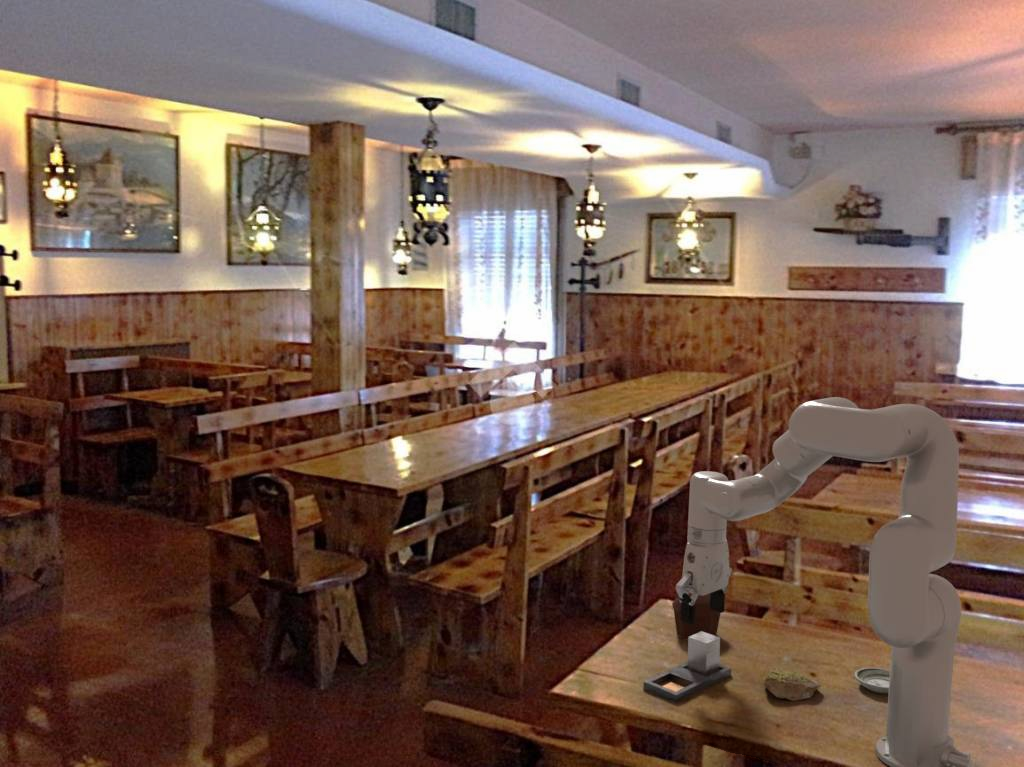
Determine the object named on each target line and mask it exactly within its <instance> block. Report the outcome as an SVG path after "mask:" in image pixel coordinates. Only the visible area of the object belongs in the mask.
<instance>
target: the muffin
mask: <svg viewBox="0 0 1024 767" xmlns="http://www.w3.org/2000/svg"><path fill="white" fill-rule="evenodd" d="M693 589H694V588H693ZM692 594H693V593H690V592H689V593H688V596H689V597H690V598H691V596H692ZM694 605H696V620H695V624H693V625H691V624H689V623H686V622H683V621H681V602H680V599H679V598H678V596H677V597H676V598H675V599H674V600H673V601H672V603H671V606H672V609H673V615H674V620H675V621H674V622H675V628H676V630H675V631H676V635H677V636H679V637H680V636H681V638H682V639H683V640H686V639H688V637H689V636H692V635H694V634H696V633H699V632H701V631H702V632H705V633H708V634H711V635H714V636H717V633H718V630H719V629H718V627H719V623H720V618H721V614H722V613H721V612H718V611H715V610H712V609H710V593H709V594H707V595H698V597H697V599H696V601H695V603H694Z"/></svg>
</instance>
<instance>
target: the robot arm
mask: <svg viewBox="0 0 1024 767" xmlns="http://www.w3.org/2000/svg"><path fill="white" fill-rule="evenodd" d="M788 421H789V422H788V430H786V431H785V432H784V433H783V434H782V435H780V436H779V437H778V438H777V439H776V440H774V442H773V445H772V453H773V457H774V459H773V460H771V462H769V464H767V465H766V466H765V467H763V468H762V469H761V470H760V471H758V472H757V473H755V474H754V475H750V476H746V477H741V478H738V479H734V480H729V478H728V476H727V475H725V474H723V473H720V472H718V471H710V470H706V471H705V470H704V471H703V470H702V471H697V472H695V473H693V474H692V475H691V477H690V479H689V480H690V481H689V497H688V520H687V538H686V539H687V540H686V541H687V542H686V546H685V551H684V557H683V566H682V576H681V579H680V580H679V581H678V582H677V583H676V585H675V589H676V594H677V595H676V596H677V597H678V598H679V599H680V602H681V621H683V622H686V623H689V624H691V625H693V624H695V620H696V605H694V603H695V601H696V599H697V597H698V595H707V594H709V593H710V609H712V610H715V611H718V612H721V613H720V614H723V613H724V612H725V602H726V593H727V592H728V585H729V583H730V578H731V575H732V571H733V568H732V567H730V551H729V544H728V540H727V524H728V523H727V522H728V521H730V522H738V521H742V520H746V519H750V518H752V517H755V516H758V515H762V514H765V513H768V512H770V511H772V510H774V509H775V508H776V507H778V506H780V505H781V504H782V503H783V502H785V501H786V500H787V499H789V498H790V497H791V496H792V495H793V494H795V493H796V492H797V491H798V490H799V489H801V487H802V486H803V484H805V482H806V481H807V478H808V476H810V475H811V474H812V473H813V472H815V471H817V469H818V468H820V467H821V466H822V465H824V464H825V463H826V462H827V461H828V460H830V459H831V458H833V457H838V458H845V459H850V460H854V461H855V460H856V461H861V462H862V461H863V462H871V463H881V462H888V461H890V460H894V459H899V458H901V457H905V458H906V466H905V470H904V472H903V475H902V479H901V486H900V509H899V510H900V511H899V515H898V518H896V519H894V520H892V521H888V522H887V523H886V524H884V525H882V526H881V528H879V529H878V531H876V533H875V535H874V537H873V539H872V542H871V545H870V549H869V561H868V592H867V593H868V595H867V596H868V597H867V611H868V619H869V622H870V626H871V628H872V630H873V632H874V633H875V635H876V636H877V637H878V639H879V640H881V641H882V642H883V643H885V644H886V645H888V646H891V653H890V664H889V670H890V677H889V693H888V694H887V695H888V696H887V697H888V698H887V713H886V714H887V717H886V729H885V730H886V733H885V736H883V737H880V738H879V739H878V740H877V742H876V744H875V754H876V756H877V757H878V758H879V760H880V761H881V762H882V763H884V764H885V765H887V766H889V767H973V760H972V759H971V754H970V753H969V752H966V751H963V750H960V749H957V748H956V746H955V738H954V737H953V736H950V735H949V731H950V730H949V727H950V726H949V725H950V712H951V711H950V710H951V698H952V685H953V684H952V683H953V682H952V681H953V680H952V679H953V672H954V671H953V669H954V659H955V658H954V657H955V649H956V643H957V642H956V641H957V637H958V634H959V628H960V625H961V624H960V623H961V618H962V601H961V597H960V595H959V593H958V590H957V589H956V588H955V587H954V585H953V584H952V583H951V582H950V581H948V580H947V579H946V578H944V577H942V576H940V575H938V574H933V573H932V572H935V571H937V570H940V568H941V569H942V567H945V566H946V565H948V564H949V563H950V562H951V561H952V560H953V558H954V557H955V553H956V550H957V534H958V532H957V529H958V528H957V527H958V506H959V505H958V487H959V486H958V485H959V474H960V472H959V470H960V451H959V443H958V440H957V437H956V435H955V433H954V430H953V429H952V427H951V426H950V424H949V423H948V422H947V420H946V419H944V417H942V416H941V414H939V413H937V412H936V411H935V410H932V409H931V408H929V407H926V406H923V405H920V404H914V403H900V404H894V405H888V406H884V407H879V408H874V409H866V408H865V409H864V408H859V406H858V405H857V404H856V403H854V402H853V401H851V399H848V398H844V397H839V396H835V397H834V396H833V397H826V398H819V399H814V400H810V401H806V402H803V403H802V404H800V405H798V407H796V408H795V410H794V411H793V412H792V414H791V415H790V417H789V420H788ZM693 588H694V589H693ZM689 592H690V593H693V594H692V596H691V598H690V597H689V596H688V593H689Z"/></svg>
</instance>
